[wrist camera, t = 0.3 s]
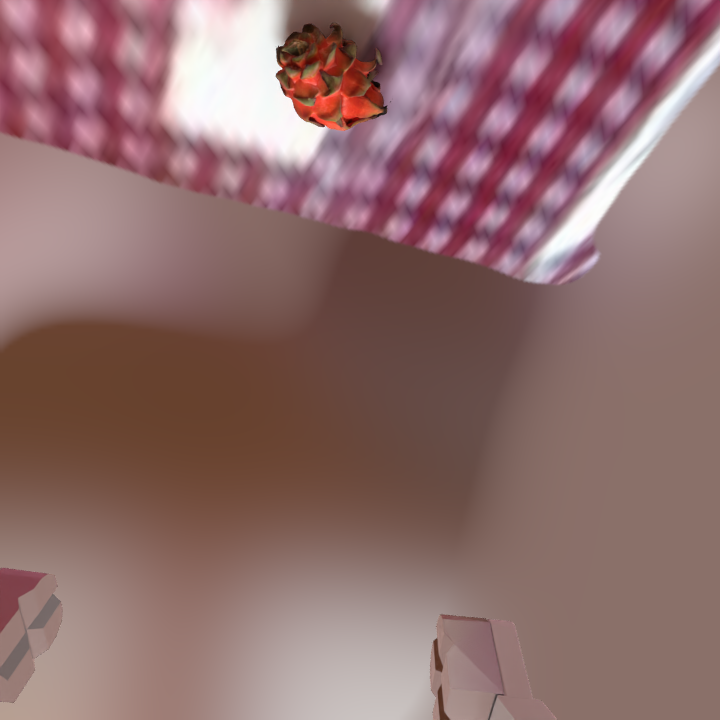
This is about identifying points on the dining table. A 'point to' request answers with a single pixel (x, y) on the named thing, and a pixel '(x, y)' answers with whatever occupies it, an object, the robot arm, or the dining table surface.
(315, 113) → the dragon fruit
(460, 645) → the robot arm
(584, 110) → the dining table surface
